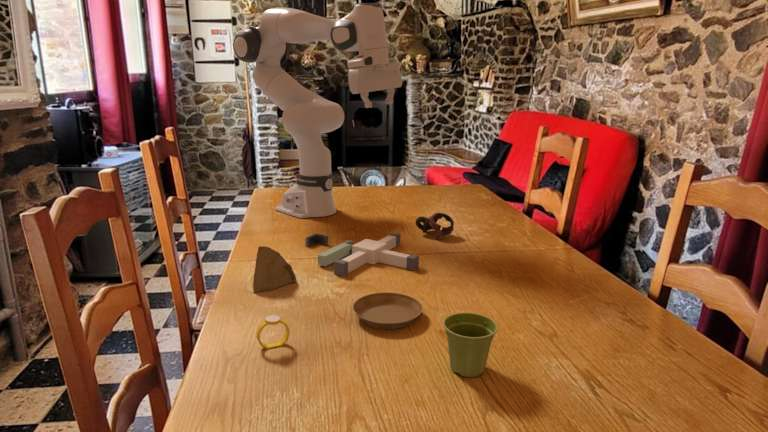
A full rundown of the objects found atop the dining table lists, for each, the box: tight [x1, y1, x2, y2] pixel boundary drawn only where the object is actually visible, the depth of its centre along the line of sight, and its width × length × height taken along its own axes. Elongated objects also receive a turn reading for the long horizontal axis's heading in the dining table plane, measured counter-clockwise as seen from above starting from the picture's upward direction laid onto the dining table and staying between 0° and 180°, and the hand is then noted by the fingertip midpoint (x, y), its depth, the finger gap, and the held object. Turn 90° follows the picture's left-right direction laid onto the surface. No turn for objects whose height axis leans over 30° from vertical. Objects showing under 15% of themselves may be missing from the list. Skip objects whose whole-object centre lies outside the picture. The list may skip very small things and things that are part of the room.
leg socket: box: [305, 233, 329, 248], centre depth 153 cm, size 5×5×3 cm
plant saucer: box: [352, 292, 423, 330], centre depth 110 cm, size 15×15×3 cm
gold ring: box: [256, 314, 291, 350], centre depth 98 cm, size 6×3×6 cm, turn 115°
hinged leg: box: [317, 239, 354, 267], centre depth 142 cm, size 14×2×3 cm, turn 149°
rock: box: [252, 245, 298, 294], centre depth 124 cm, size 11×9×10 cm
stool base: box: [333, 231, 420, 277], centre depth 141 cm, size 20×29×4 cm
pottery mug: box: [415, 212, 455, 241], centre depth 163 cm, size 12×10×8 cm
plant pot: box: [442, 312, 499, 378], centre depth 91 cm, size 9×9×9 cm
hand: (379, 105), depth 160 cm, fingers open, 8 cm apart
